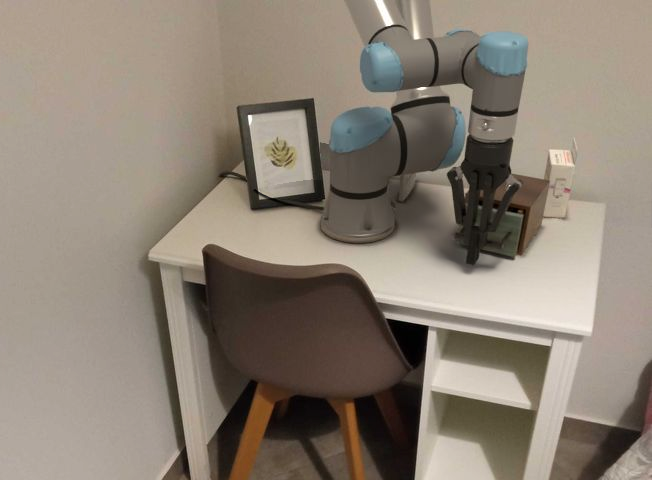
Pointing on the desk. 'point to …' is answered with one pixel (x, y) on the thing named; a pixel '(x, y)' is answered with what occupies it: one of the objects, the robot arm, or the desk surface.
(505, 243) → the drawer
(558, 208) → the ink cartridge box
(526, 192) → the cabinet
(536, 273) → the desk surface
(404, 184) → the cassette
